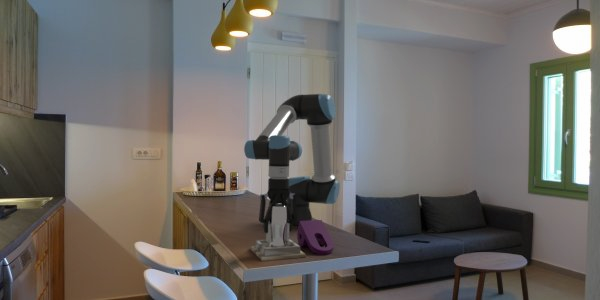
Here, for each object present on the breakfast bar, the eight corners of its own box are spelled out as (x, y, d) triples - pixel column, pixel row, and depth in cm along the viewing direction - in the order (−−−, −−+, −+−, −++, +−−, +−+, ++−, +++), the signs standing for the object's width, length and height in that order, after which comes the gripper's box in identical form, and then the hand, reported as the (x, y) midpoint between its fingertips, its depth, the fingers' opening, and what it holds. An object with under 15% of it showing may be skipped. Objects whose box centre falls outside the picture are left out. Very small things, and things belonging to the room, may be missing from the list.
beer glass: (264, 245, 149) (265, 204, 148) (279, 242, 153) (280, 203, 153) (275, 249, 143) (276, 207, 143) (290, 246, 148) (291, 205, 147)
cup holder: (250, 249, 153) (250, 239, 153) (290, 245, 159) (290, 237, 158) (261, 260, 138) (262, 250, 138) (305, 257, 144) (305, 247, 144)
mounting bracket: (333, 267, 152) (317, 236, 167) (338, 249, 149) (321, 219, 164) (309, 269, 149) (296, 237, 164) (313, 251, 145) (299, 220, 161)
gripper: (255, 179, 141) (254, 245, 141) (307, 178, 148) (306, 241, 148) (250, 177, 148) (249, 240, 148) (300, 176, 155) (298, 236, 155)
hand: (277, 240), depth 148 cm, fingers closed on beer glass, 6 cm apart
